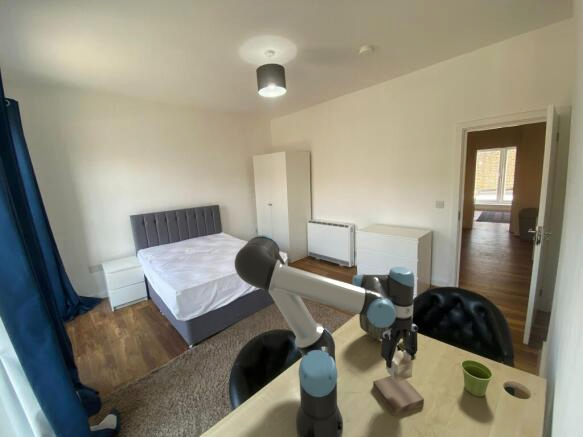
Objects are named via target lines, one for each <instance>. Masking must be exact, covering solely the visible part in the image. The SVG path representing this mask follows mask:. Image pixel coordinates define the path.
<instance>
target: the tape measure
mask: <svg viewBox="0 0 583 437" xmlns="http://www.w3.org/2000/svg"><path fill="white" fill-rule="evenodd" d="M396 350H397V351H400V350H401V351H402V352H403V353H404V351H406V349H405V346H404V342H403V340H402V341H401V342H399V343H398V344H397V347H396ZM413 353H414V354H415V355H416V354H417V352H415V351H414V352H413Z"/></svg>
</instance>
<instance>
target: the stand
mask: <svg viewBox="0 0 583 437" xmlns="http://www.w3.org/2000/svg"><path fill="white" fill-rule="evenodd" d="M372 383H373V384H372V386H373V387H372V388H374V390H375V392H376V393H377V394H378V396H379V397H380V398H381V399H382V401H383V403H384V404H385V405H386V406H387V408H388V409H389V411H390V412H391V413H392V414H393V415H394V417H395V416H397V415H400V414H403V413H405V412H409V411H410V410H413V409H416V408H420V407H421V406H424V405H425V399H424V397H423V396H422V395H421V394H420V393H419V392H418V391H417V390H416V388H414V386H413V385H412V384H411V383H410V382H409V381H408V380H407V379H404V380H401V381H398V382H397V381H396V379H395V378H394V377H391V375H389V376H388V375H387V376H385V377H383V378H379V379H376V380H373V382H372Z"/></svg>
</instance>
